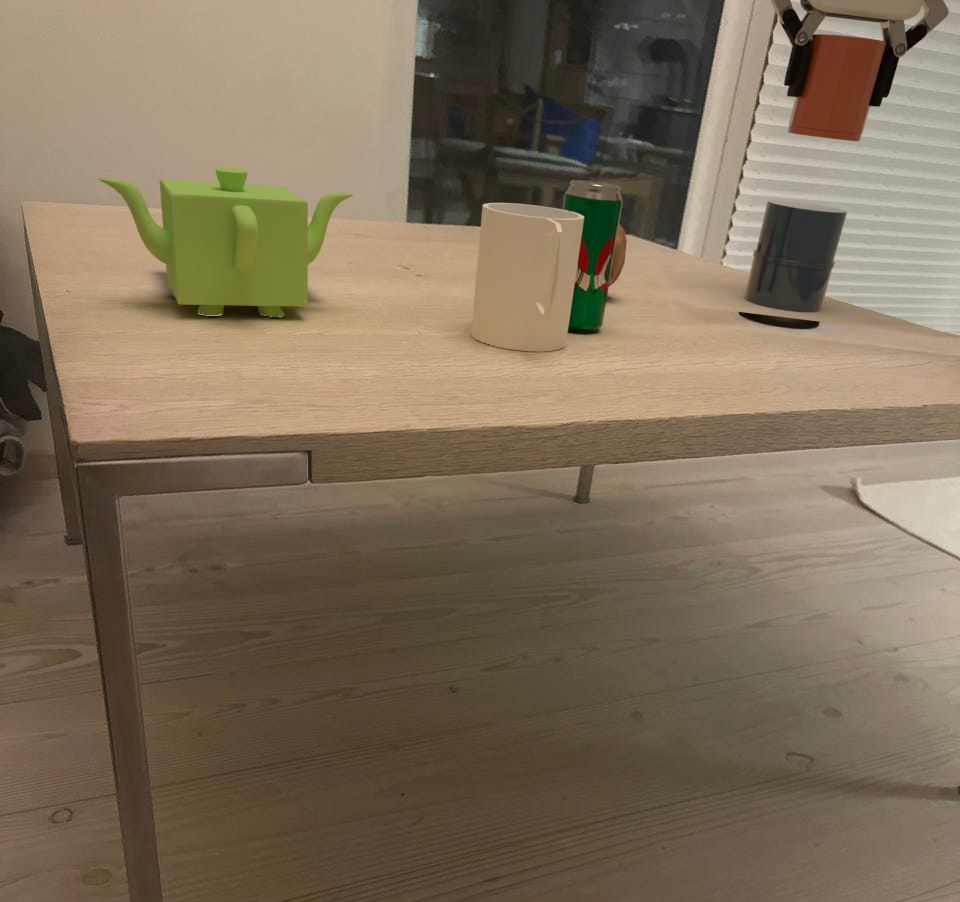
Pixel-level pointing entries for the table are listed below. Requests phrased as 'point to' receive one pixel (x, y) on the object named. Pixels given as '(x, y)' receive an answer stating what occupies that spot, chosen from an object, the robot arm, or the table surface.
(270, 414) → the table surface
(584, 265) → the soda can
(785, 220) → the cup stack
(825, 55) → the terracotta cup
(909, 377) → the table surface
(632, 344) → the table surface
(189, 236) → the teapot
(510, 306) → the cup
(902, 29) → the robot arm
